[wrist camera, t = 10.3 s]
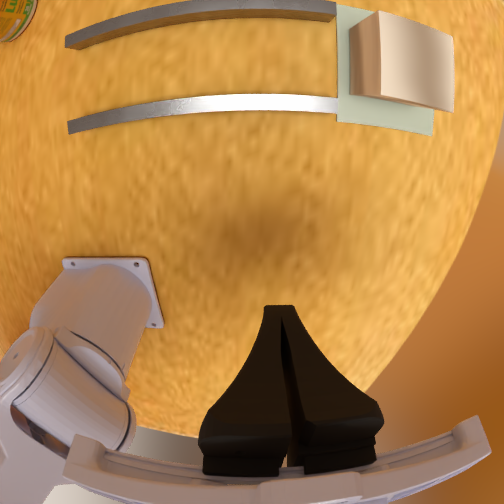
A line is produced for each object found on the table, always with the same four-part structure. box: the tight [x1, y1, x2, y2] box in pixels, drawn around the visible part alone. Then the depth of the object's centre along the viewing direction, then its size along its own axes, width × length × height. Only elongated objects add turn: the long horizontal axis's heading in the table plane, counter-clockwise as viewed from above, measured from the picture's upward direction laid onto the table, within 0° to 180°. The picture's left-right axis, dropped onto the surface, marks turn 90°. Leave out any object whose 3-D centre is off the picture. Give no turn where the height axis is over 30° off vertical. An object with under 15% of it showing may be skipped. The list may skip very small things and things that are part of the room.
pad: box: [336, 4, 434, 136], centre depth 15 cm, size 8×9×1 cm
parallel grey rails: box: [65, 0, 338, 134], centre depth 14 cm, size 18×8×2 cm, turn 91°
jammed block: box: [349, 10, 454, 113], centre depth 12 cm, size 5×5×5 cm
